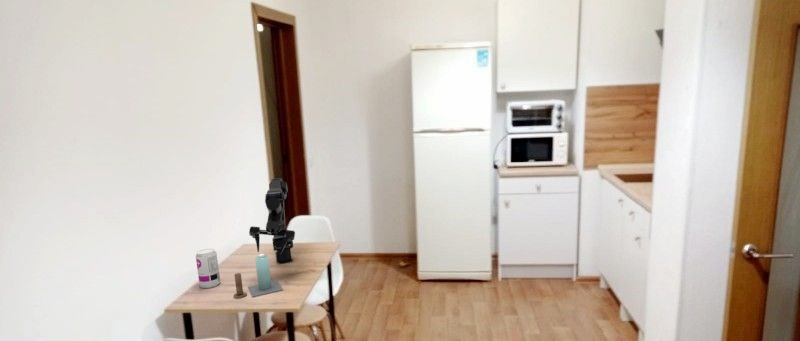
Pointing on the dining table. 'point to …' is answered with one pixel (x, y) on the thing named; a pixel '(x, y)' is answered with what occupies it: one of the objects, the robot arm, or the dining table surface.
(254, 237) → the robot arm
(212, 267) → the supplement can
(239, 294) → the walnut gate posts
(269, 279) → the teal bottle
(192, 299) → the dining table surface
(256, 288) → the charcoal rubber mat
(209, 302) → the dining table surface
